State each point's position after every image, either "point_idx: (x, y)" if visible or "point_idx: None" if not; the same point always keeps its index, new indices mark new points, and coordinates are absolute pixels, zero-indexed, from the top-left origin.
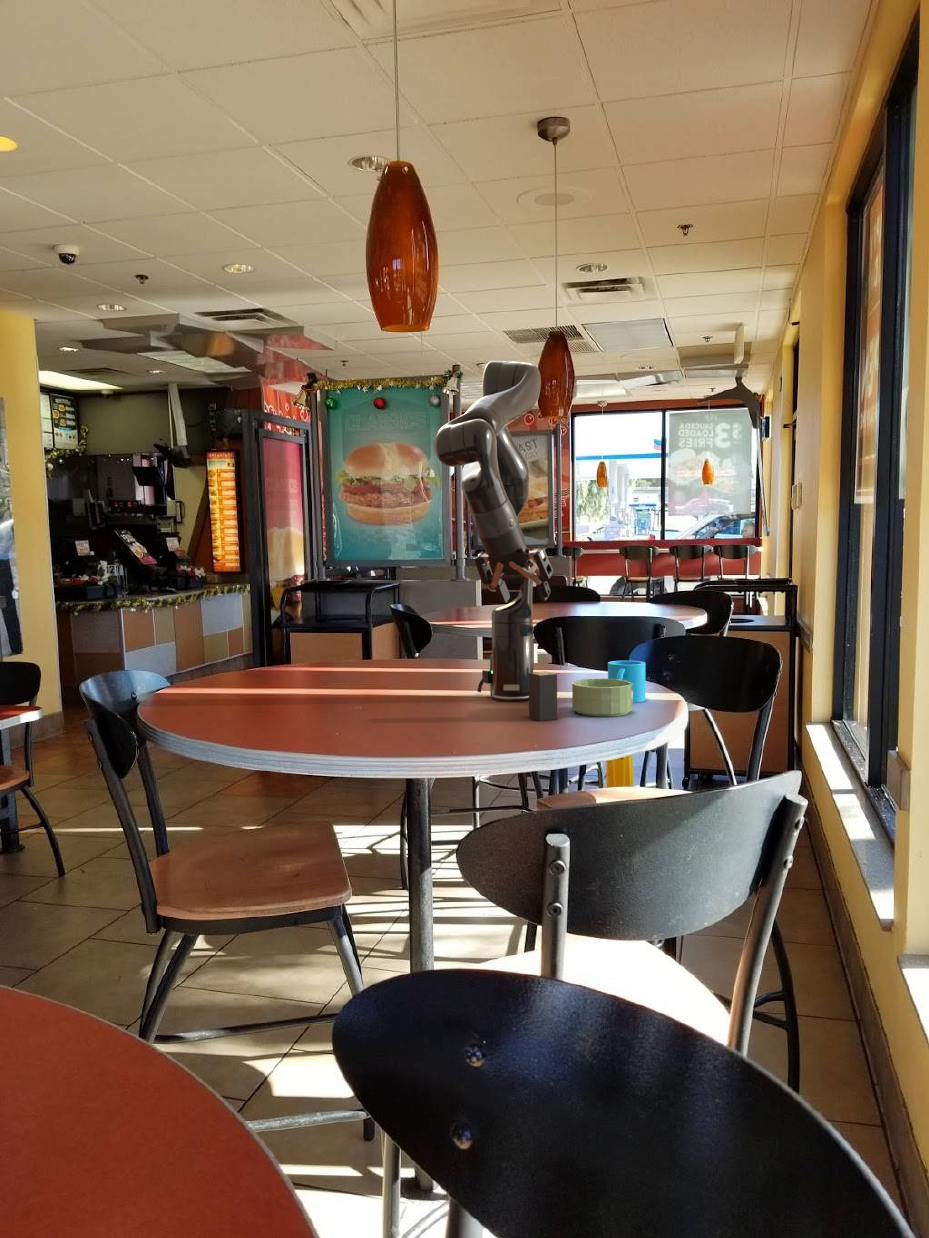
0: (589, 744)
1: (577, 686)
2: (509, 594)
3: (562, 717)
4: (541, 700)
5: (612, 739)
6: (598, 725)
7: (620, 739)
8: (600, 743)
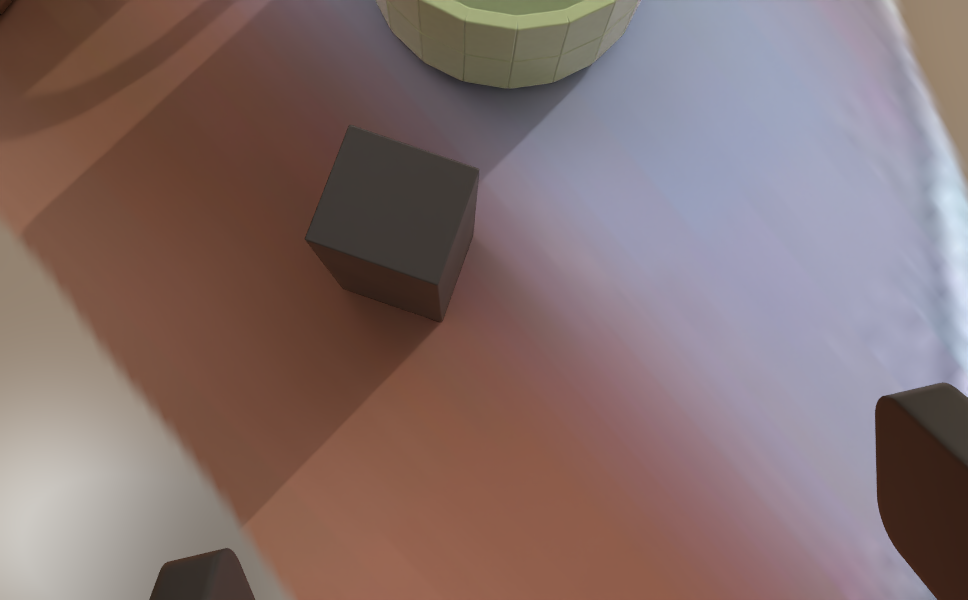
0: None
1: (471, 25)
2: (218, 567)
3: None
4: (444, 298)
5: None
6: (701, 221)
7: None
8: None
